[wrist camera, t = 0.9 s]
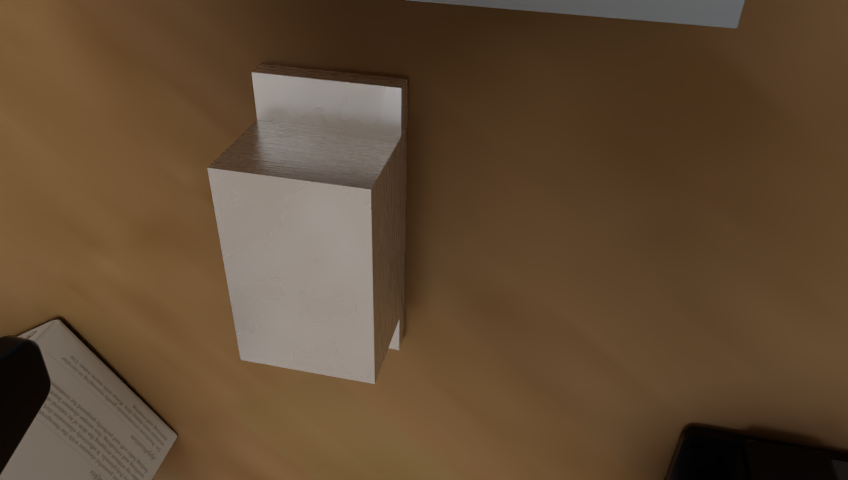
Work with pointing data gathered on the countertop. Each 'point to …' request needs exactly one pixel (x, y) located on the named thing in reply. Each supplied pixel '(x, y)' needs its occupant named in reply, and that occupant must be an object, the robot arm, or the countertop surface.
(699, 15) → the stand
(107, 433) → the skincare box
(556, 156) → the countertop surface
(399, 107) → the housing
